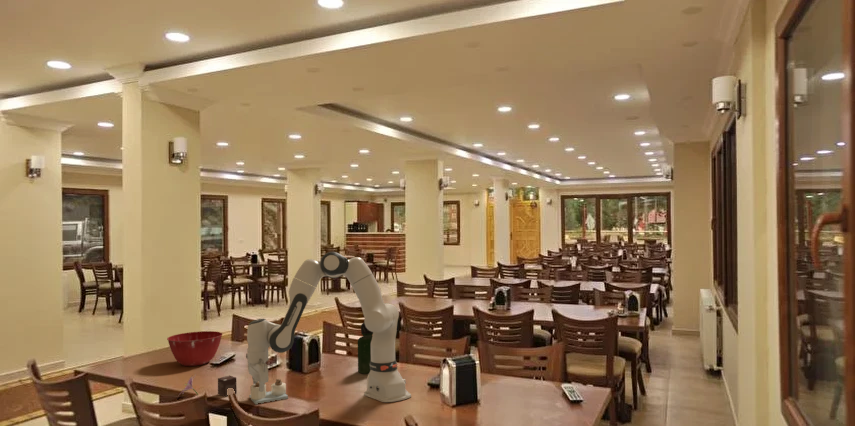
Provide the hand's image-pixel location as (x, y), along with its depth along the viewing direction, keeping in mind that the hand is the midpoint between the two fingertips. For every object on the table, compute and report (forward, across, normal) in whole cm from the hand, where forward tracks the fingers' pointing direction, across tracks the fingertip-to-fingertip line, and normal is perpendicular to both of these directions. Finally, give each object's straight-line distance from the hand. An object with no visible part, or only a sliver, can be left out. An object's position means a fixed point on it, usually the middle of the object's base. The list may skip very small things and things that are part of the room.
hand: (258, 388), depth 237 cm
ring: (+4, 0, 0) cm, 4 cm away
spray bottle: (+5, +14, -59) cm, 61 cm away
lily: (+5, +25, +25) cm, 36 cm away
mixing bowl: (+5, +86, +12) cm, 87 cm away
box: (+5, +17, +10) cm, 20 cm away
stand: (+5, 0, -4) cm, 7 cm away
